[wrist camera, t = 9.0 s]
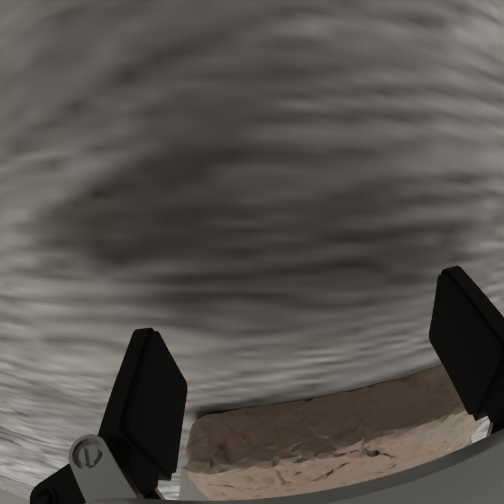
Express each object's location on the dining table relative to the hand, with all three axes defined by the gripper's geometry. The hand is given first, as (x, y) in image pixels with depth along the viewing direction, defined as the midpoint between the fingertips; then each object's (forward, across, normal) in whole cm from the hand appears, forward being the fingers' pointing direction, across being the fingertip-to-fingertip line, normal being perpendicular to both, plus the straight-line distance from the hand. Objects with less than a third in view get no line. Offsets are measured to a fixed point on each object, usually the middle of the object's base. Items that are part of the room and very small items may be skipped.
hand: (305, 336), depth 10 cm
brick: (+3, -1, +11) cm, 12 cm away
